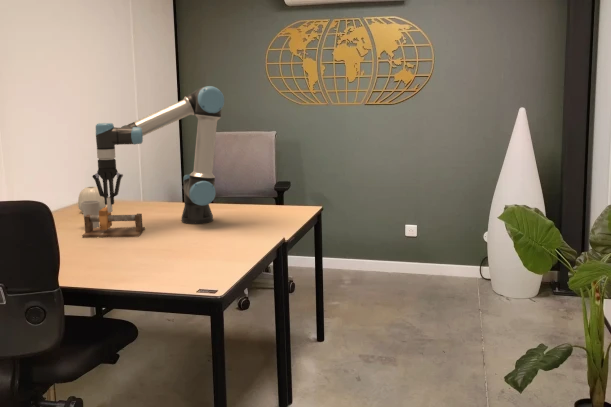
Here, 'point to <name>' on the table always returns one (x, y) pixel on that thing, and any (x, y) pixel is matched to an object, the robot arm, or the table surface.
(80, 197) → the vase
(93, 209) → the cup
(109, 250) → the table surface
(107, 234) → the pipe stand
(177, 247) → the table surface
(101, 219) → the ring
